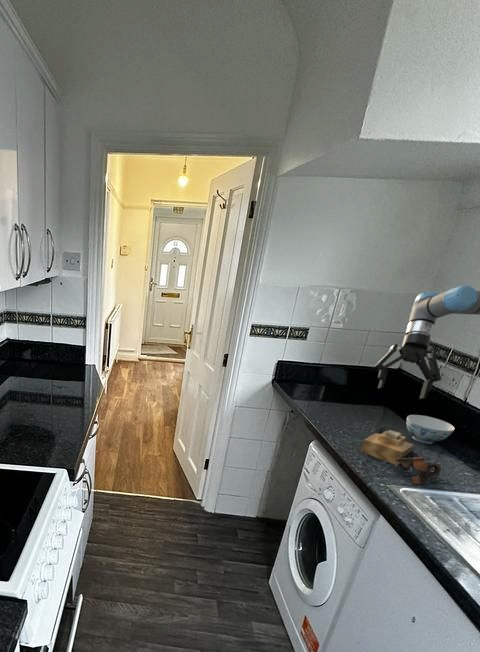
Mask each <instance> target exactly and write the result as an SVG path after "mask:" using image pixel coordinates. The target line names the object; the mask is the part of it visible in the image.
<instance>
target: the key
mask: <svg viewBox="0 0 480 652" xmlns="http://www.w3.org/2000/svg"><path fill="white" fill-rule="evenodd" d="M385 436H387V437H391V438H394V439H399V438H400V436H402V433H401V432H398V431H395V430H391V429H389V430H387V432H386V435H385Z"/></svg>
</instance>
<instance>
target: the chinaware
mask: <svg viewBox="0 0 480 652" xmlns="http://www.w3.org/2000/svg"><path fill="white" fill-rule="evenodd" d="M406 428H407V431H408V433H409V434H410V435H411V437H412V439H413V440H415V441H417V442H420V443H422V444H427V445H432V444H434V443H436V442H441V441H443V440H445V439H447V438H448V437H449V436H450V435H452V433H454V431H455V426H453V425H452V424H451V423H449V422H447V421H445V420H442V419H439V418H436V417H432V416H428V415H423V414H422V415H420V414H409V415H407V417H406Z"/></svg>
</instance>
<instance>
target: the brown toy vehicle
mask: <svg viewBox="0 0 480 652" xmlns="http://www.w3.org/2000/svg"><path fill="white" fill-rule="evenodd" d="M412 464H413V468H414V470H415V471H417V472H418V475H417V476H411V477H410V478H411V484H413V485H421V484H422V485H426V484H428V482H429V479H430V478H433V477H436V476H438V475H439V474H440V473H441V472H442V468H441V465H440V464H439V463H437V462H436V463H435V462H427V461H425V460H424V456H423V457H422V456H415V457H405V458H397V459H396V463H395V464H393V466H394V467H395V468H396V469H398V468H399V467H401V468H402V469H403V471H409V470H410V469H411V467H410V466H411V465H412ZM432 468H434V470H432V471H431V472H430V470H431V469H432Z"/></svg>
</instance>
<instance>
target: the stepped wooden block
mask: <svg viewBox="0 0 480 652" xmlns="http://www.w3.org/2000/svg"><path fill="white" fill-rule="evenodd" d="M386 432H388V430H386V431H383V432H382V433H378V432H375V433H373V434H372V435H369V436H368V437H366V438H365V439H363V443H362V445H361V449H360V451H359V452H361V453H364V454H366V455H369V456H372V457H374V458H376V459H379V460H382V461H385V462H387V463H390V464H393V465H394V464H395V463H396V459H397V458H406V456H407V455H409V454H410V453H411V452H412V450H413V447H414V444H413V443H410V442H407V441H406V439H407V437H406V436H403V435H401V436H400V438H399V439H394V438H391V437H387V436H385V435H386Z"/></svg>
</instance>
